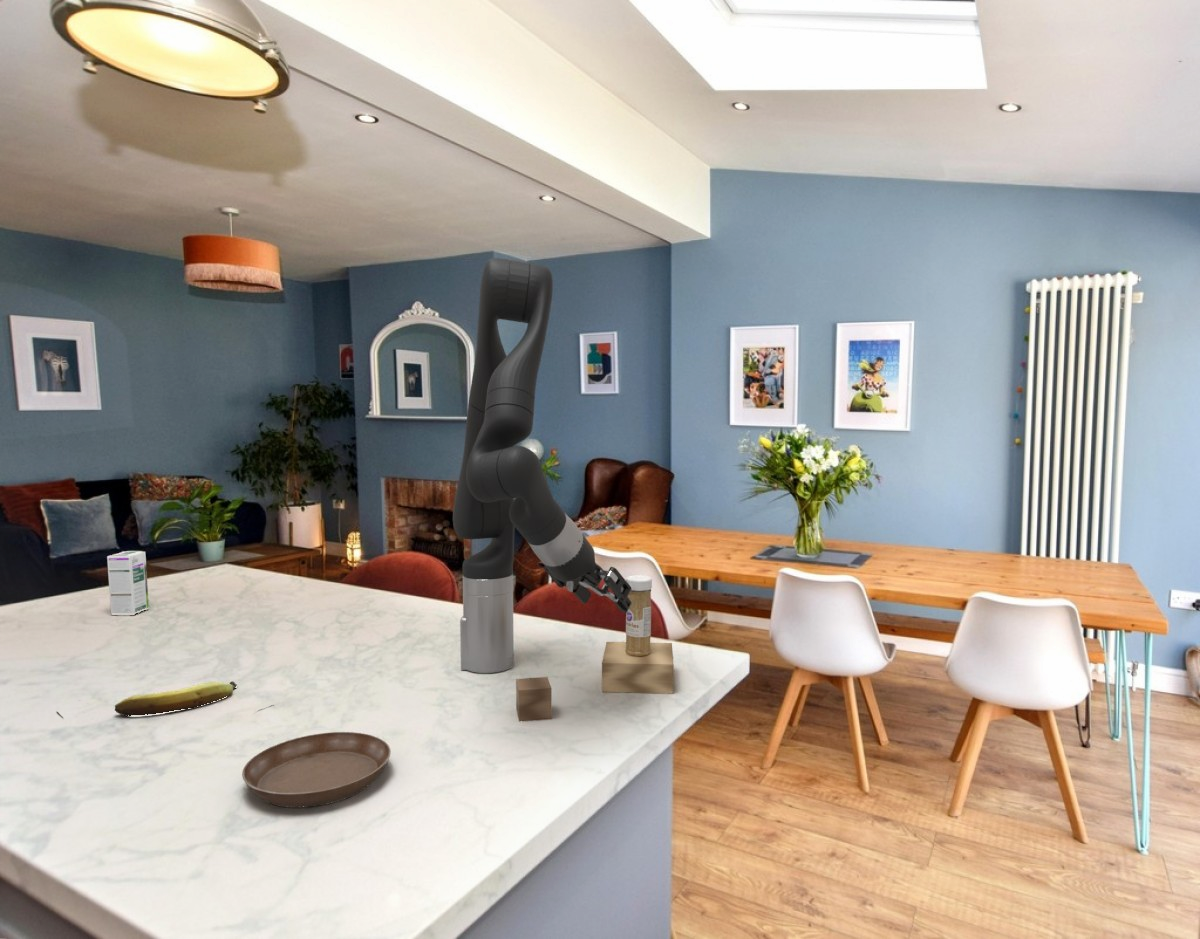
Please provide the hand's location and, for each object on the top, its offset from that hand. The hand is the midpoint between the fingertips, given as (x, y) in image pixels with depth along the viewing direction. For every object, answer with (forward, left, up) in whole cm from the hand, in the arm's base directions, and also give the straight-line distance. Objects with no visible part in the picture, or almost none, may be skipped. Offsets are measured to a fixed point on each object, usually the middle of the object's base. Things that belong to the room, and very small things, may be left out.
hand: (606, 603), depth 124 cm
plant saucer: (-35, -32, -16) cm, 50 cm away
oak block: (+5, +7, -15) cm, 18 cm away
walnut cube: (-11, -9, -16) cm, 21 cm away
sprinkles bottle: (+5, +7, -11) cm, 14 cm away
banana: (-68, -9, -16) cm, 71 cm away
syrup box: (-117, +45, -16) cm, 126 cm away
